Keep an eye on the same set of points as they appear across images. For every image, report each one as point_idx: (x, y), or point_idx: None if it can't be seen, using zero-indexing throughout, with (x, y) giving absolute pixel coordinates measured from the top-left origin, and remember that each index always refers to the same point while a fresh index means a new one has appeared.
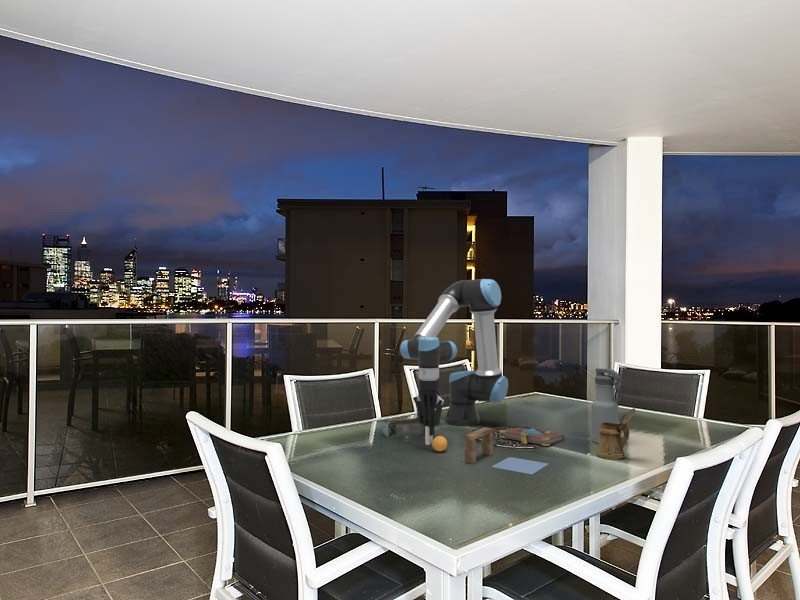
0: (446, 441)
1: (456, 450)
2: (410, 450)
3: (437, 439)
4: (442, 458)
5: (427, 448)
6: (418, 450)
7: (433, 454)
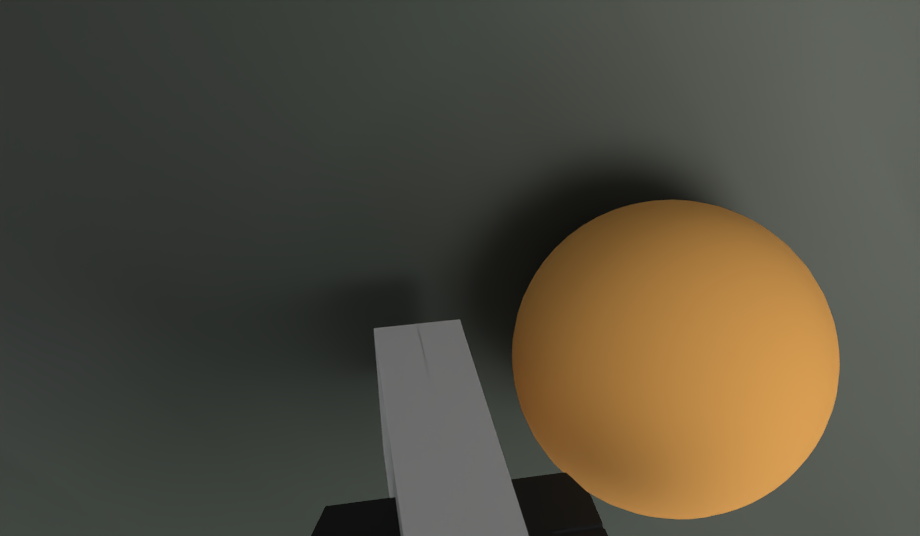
0: (835, 334)
1: (846, 30)
2: (196, 533)
3: (720, 512)
4: (821, 498)
5: (319, 278)
6: (293, 457)
7: None
